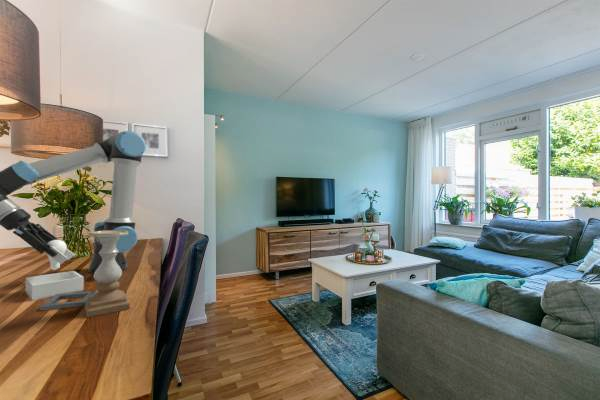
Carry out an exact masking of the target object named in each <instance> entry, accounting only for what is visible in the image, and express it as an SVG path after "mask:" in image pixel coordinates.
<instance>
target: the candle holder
mask: <svg viewBox="0 0 600 400" xmlns="http://www.w3.org/2000/svg"><path fill="white" fill-rule="evenodd" d="M127 234H128V231H125V230H105V231H94V230H93V231H90V232H89V233H88V236H89V237H92V238H94V237H98V238H99V241H100V242H101V243H102V249H101V250H100V251H99V254H100V255H101V257H102V262H101V264H100V265H99V267H98V268H97V270H96V271H95V273H93V278H94V280H95V281H96V282H98V283H97V284H96V286H95V291H97V293H96V294H94V295H91V296H89V297H88V300H86V301H85V306H84V311H85V312H84V314H85V318H93V317H98V316H102V315H107V314H113V313H116V312H123V311H127V310H130V309H131V302H130V300H129V297H128V296H127V294H126V293H125V291H124V290H120V289H118V288H119V287H120V285H121V284H120V282H119V281H118V280H119V279H120V278H121V277H122V275H123V270H121V268H120V266H119V265H118V264H117V262H116V260H115V257H116V255H117V253H118V252H119V251H118V250H117V248H116V242H117V241H118V240H119V237H120V236H124V235H127Z"/></svg>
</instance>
